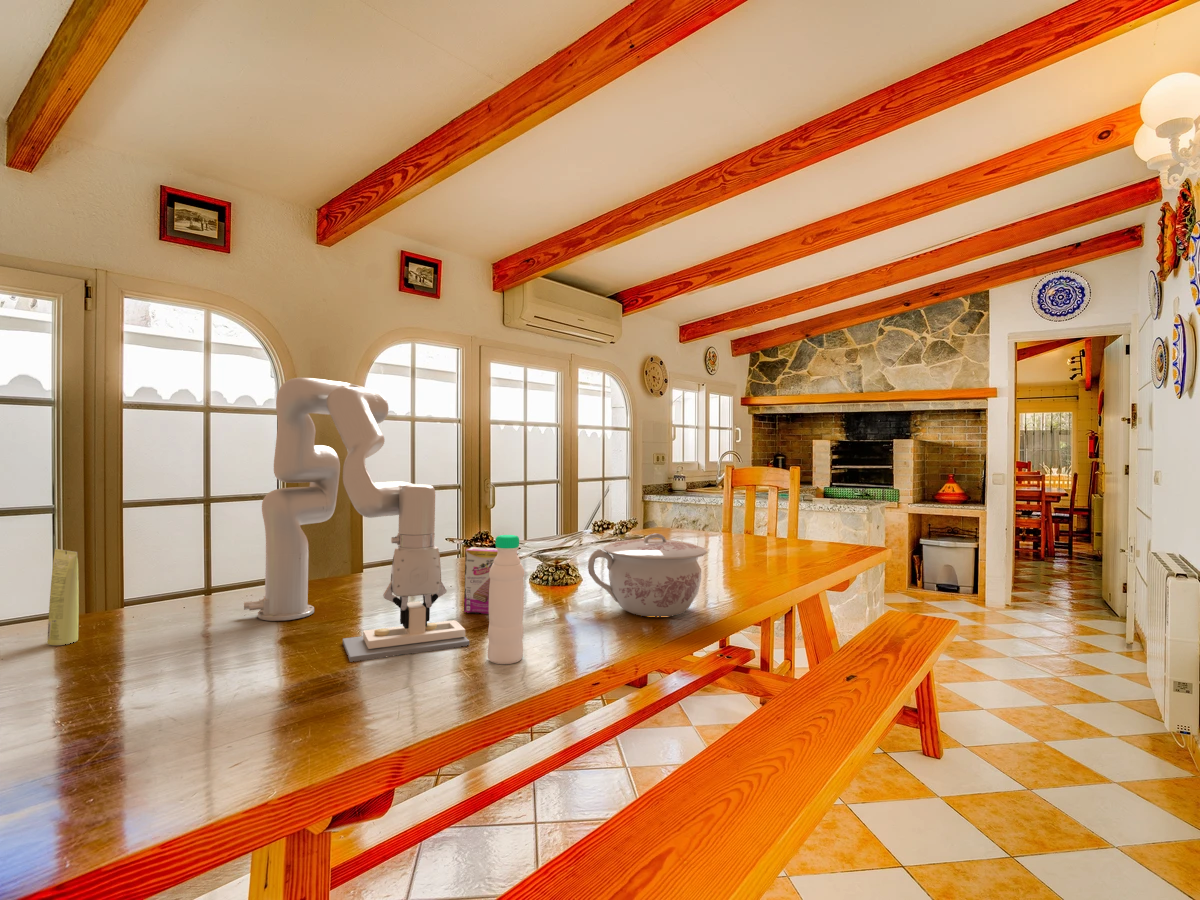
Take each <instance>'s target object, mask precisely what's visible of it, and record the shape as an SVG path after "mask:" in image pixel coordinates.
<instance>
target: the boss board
mask: <svg viewBox="0 0 1200 900" xmlns="http://www.w3.org/2000/svg"><path fill="white" fill-rule="evenodd" d="M385 628H386V627H383V629H382V628H376V629H377V630H375V631H374V635H376V636H385V635H388V634H389V629H385ZM436 628H437V624H436V623H435V622H427V626H425V631H426V630H434V629H436ZM467 645H469V646H470V640H469V639H468V638H467V637H466V636H465V637H459V638H452V639H444V640H436V641H428V642H420V643H412V644H404V645H396V646H389V647H381V648H373V649H368V647H367V645H366V643H365V641H364V639H363V635H362V636H351V637H345V638H344V637H343V638H342V646H343V648H344V650H345V652H346V655H348V656H347V658H348V660H349V662H350V663H351V662H352V663H354V662H359V661H360V660H361V661H367V659H368V660H374V659H373V658H376V659H381V658H380V657H383V658H387V657H386V656H390V657H394V656H393V655H397V656H400V655H399V654H405V655H409V654H408V653H412V654H418V653H417V652H419V653H425V652H424V651H426V652H432V650H434V651H439V650H447V649H455V648H461V646H463V647H468V646H467ZM454 647H455V648H454ZM353 661H354V662H353Z"/></svg>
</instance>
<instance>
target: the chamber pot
mask: <svg viewBox="0 0 1200 900" xmlns="http://www.w3.org/2000/svg"><path fill="white" fill-rule="evenodd" d="M706 554H708V551H707V549H705V548H704V547H701V546H700V545H697V544H694V543H689V542H685V541H679V540H672V539H666V537H665V536H664V535H663V534H662V533H651V534H648V535H646V536H645V538H636V539H626V540H620V541H615V542H612V543H609V544H606V545H604V547H603V549H601V548H598V549H596V550H595V551H593V552H592V553H591V555H590V557H589V558H588V561H587V570H588V574H589V576H590V577H591V578H592V580H593V581H594V583H596V584H597V585H599V587H601V588H603V589H604V590H605V591H606V592H607V593H608V594H609V595H610V596H611V597H612V599H613V600H614V601H615V602H616V603H618V606H620V608H621V609H623V611H626V612H628V613H630V614H632V615H635V614H636V615H635V616H637V615H641V616H640V617H642V616H655V617H657V616H659V617H661V616H672V615H675V616H678V615H680V614H684V613H685V612H686V611H687V610H688V609H690V607H691V605H692V604H693V601H694V600H695V599H696V597H697V595H698V594H699V590H700V586H701V582H702V568H701V566H700V565H699V562H698V559H699V558H700V557H701V558H702V557H704V556H705V555H706ZM598 558H603V559H605V560H607V561H606V562H607V563H606V564H607V565H606V567H607V569H608V581H609V584H608V583H606V582H604V581H602V580H601V578H599V577H598V575H597V574H596V571H595V568H594V567H595V562H596V559H598ZM683 612H684V613H683ZM677 614H678V615H677ZM672 617H673V616H672Z"/></svg>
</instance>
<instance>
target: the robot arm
mask: <svg viewBox="0 0 1200 900" xmlns="http://www.w3.org/2000/svg"><path fill="white" fill-rule="evenodd" d="M278 389H279V390H278V391H277V393H276V399H275V400H276V402H275V403H276V404H275V406H276V407H275V409H276V417H277V433H276V438H275V439H276V440H275V448H274V459H273V474H274V477H275V478H276V480H278V481H280V482H282V483H288V484H289V483H291V484H300V483H309V486H302V487H301V486H295V487H294V486H293V487H282V488H277V489H274V490H271V491H270V492H268V493H267V494H266V495H265V496H264V497H263V500H262V502H261V513H262V519H263V524H264V533H265V575H264V576H265V579H264V581H265V583H264V587H265V588H264V591H265V592H264V595H263V598H259V599H258V600H255V601H252V600H251V601H243V610H248V611H257V610H259V611H258V612H257V618H258V619H259V620H263V621H268V622H269V621H270V622H279V621H280V622H281V621H291V620H298V619H303V618H305V617H306V618H307V617H309V616H310V615H311V616H312V614H314V613H315V607H314V606H313V605H311V604H309V603H308V600H309V599H308V598H309V597H308V594H309V541H308V537H307V535H306V534H305V531H303V529H302V527H301V526H303V525H311V524H319V523H323V522H327V521H328V520H330V519H331V518H332V517H333V514H334V513H335V509H336V506H337V501H338V500H337V498H338V492H339V491H338V490H339V482H340V473H341V463H340V462H341V461H340V458H339V456H338V453H337V452H336V451H335V449H334V448H333V447H330V446H329V445H328V446H327V445H323V444H315V443H316V442H315V439H316V425H315V423H314V420H313V419H312V417H311V415H310V414H317V415H328V416H329V415H330V418H331V419H332V422H333V424H334V426H335V428H336V430H337V432H338V434H339V435H340V436H339V437H340V438H341V441H342V443H343V445H344V447H345V449H346V453H347V454H346V457H345V459H344V462H343V466H342V483H343V486H344V487H343V488H344V489H345V491H346V493H347V496H348V499H349V500H350V503H351V504H352V506H353V507H354V509H355V511H356V512H357V513H358V514H359V515H360V516H363V517H365V518H371V519H373V518H383V517H388V516H389V517H391V516H393V517H394V516H398V532H397V535H396V536H392V537H391V538H390V543H391V544H395V545H397V547H395V548H394V552H393V557H392V564H391V572H390V582H389V584H388V586H387V587H386V589H385V590H384V592H383V595H382V597H383V599H385V600H386V601H389V602H390V603H391V602H392V603H394V605H396V606H397V607H398V608H399V611H400V612H399V613H400V616H399V620H400V621H399V624H400V625H402V626H404V628H405V629H408V628H409V610H408V607H407V602H409V601H408V600H409V597H414V596H415V597H416V596H422V601H423V602H422V604H423V605H424V606H425V607H426V623H425V626H427V623H428V622H430V618H431V617H430V616H431V615H430V612H431V607H432V606H433V604H434V603H435V602H436V600H438V598H441V597H443V596H444V595H445V594H447V589H446V587H445V585H444V584H443V582H442V570H441V568H442V567H441V557H440V556H441V555H440V551H439V550H440V549H439V546H436V545H435V528H436V527H435V524H436V523H435V521H436V520H435V519H436V489H435V487H434V486H433V485H431V484H425V483H411V482H407V481H378V482H374V481H373V480H372V477H371V476H370V474H369V472H368V471H369V470H368V469H367V466H366V459H367V458H369V457H371V456H373V455H375V454H376V453H378V452H379V451H380V450H381V449H382V448H383V446H384V444H385V436H384V435H383V432H382V430H381V428H380V427H379V424H381V423H383V422H384V421H385V420H386V419H387V417H388V415H389V403H388V400H387V399H386V397H385V396H384V395H383V394H382V392H380V391H379V390H377V389H373V388H368V387H365V386H361V385H358V384H353V383H349V382H344V381H339V380H338V381H337V380H331V379H329V380H328V379H323V378H314V377H303V376H302V377H294V378H293V377H292V378H290V379H287V380H286V381H284V382H283V383H282V385H281V386H279V388H278Z"/></svg>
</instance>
